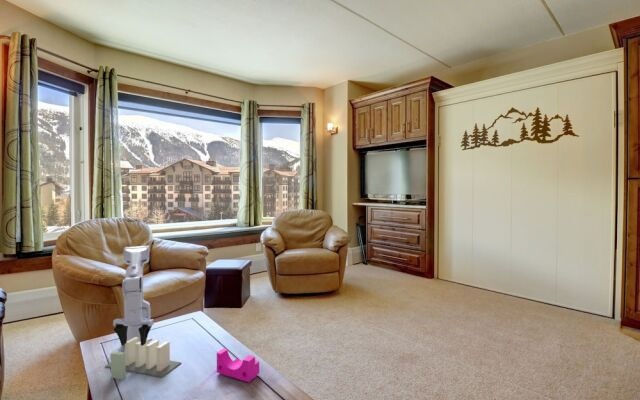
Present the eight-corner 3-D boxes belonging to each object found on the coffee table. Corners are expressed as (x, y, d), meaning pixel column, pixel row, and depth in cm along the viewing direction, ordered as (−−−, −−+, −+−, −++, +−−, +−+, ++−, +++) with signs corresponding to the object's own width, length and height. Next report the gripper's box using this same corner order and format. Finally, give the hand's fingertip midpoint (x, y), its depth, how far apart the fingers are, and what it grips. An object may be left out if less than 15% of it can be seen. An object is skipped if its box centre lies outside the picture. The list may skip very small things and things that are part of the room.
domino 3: (146, 368, 122) (145, 345, 122) (155, 362, 127) (155, 339, 126) (149, 369, 121) (149, 346, 121) (159, 362, 126) (159, 340, 126)
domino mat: (104, 367, 124) (104, 365, 124) (126, 354, 134) (126, 353, 134) (162, 377, 117) (162, 376, 117) (181, 363, 126) (181, 362, 126)
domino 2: (135, 367, 123) (135, 343, 123) (145, 360, 128) (145, 338, 128) (138, 367, 123) (138, 344, 123) (148, 361, 127) (148, 338, 127)
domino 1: (125, 365, 124) (124, 342, 124) (135, 358, 129) (135, 336, 129) (128, 365, 124) (128, 342, 124) (138, 359, 129) (138, 337, 129)
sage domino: (121, 379, 116) (121, 354, 116) (111, 377, 117) (110, 353, 117) (125, 377, 117) (125, 352, 117) (114, 375, 119) (114, 351, 118)
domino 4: (156, 370, 120) (156, 347, 120) (166, 363, 125) (166, 341, 125) (160, 371, 120) (159, 347, 120) (169, 364, 125) (169, 341, 125)
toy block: (259, 373, 120) (259, 353, 120) (248, 382, 114) (248, 361, 114) (228, 364, 126) (227, 345, 126) (216, 372, 120) (216, 352, 120)
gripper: (107, 312, 117) (107, 348, 117) (145, 312, 116) (146, 349, 116) (120, 305, 124) (120, 340, 124) (156, 305, 123) (156, 340, 123)
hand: (133, 344), depth 121 cm, fingers open, 7 cm apart
